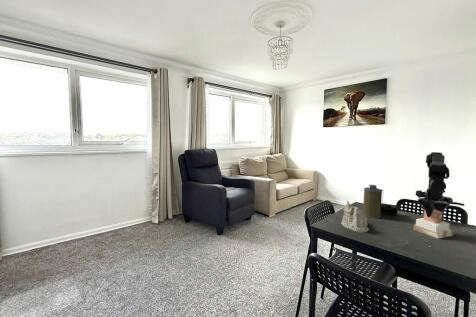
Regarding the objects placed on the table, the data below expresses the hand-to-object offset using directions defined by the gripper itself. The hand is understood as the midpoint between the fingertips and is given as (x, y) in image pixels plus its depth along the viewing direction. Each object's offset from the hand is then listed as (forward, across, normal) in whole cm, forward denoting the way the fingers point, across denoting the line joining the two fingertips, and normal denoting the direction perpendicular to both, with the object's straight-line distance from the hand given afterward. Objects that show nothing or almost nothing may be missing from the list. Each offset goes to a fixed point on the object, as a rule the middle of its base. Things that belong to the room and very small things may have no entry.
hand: (433, 216), depth 126 cm
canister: (+9, +8, -31) cm, 33 cm away
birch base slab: (+10, 0, 0) cm, 10 cm away
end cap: (+9, -4, -29) cm, 31 cm away
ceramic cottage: (+9, +32, -20) cm, 39 cm away
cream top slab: (+6, 0, 0) cm, 6 cm away
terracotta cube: (+3, 0, 0) cm, 3 cm away
